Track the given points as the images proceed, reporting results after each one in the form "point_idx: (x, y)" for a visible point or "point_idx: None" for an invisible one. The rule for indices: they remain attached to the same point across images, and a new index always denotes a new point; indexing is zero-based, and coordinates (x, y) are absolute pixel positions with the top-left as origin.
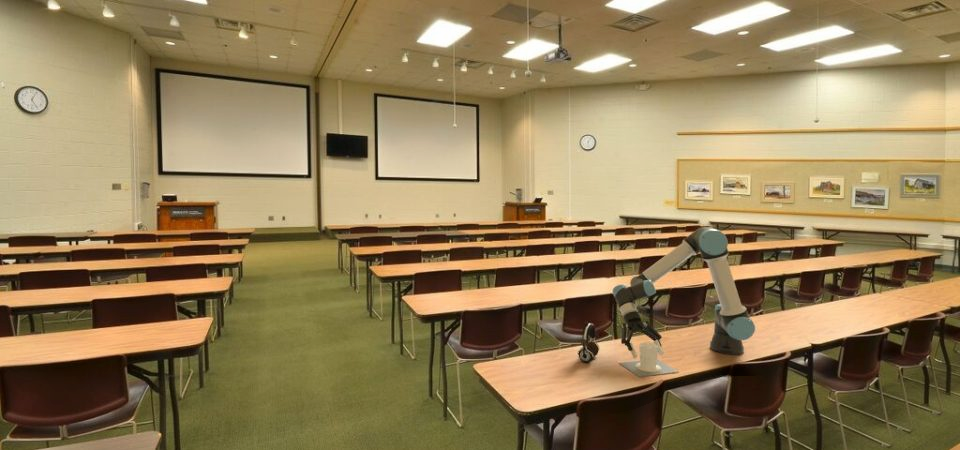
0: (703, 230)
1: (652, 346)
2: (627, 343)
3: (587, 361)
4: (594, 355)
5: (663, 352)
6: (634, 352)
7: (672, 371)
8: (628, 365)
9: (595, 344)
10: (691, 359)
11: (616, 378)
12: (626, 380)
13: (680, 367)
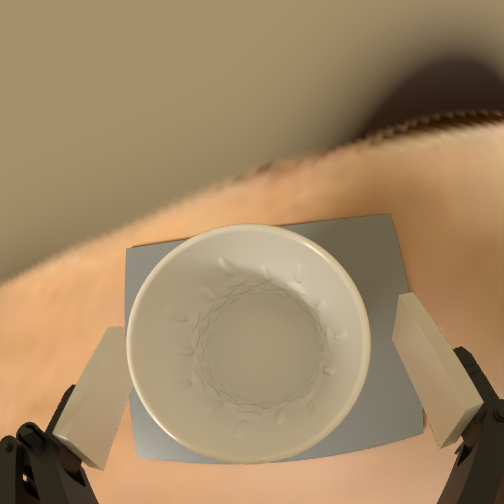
0: None
1: (165, 393)
2: (499, 400)
3: None
4: (495, 499)
5: (109, 327)
6: (427, 316)
7: (155, 255)
8: (388, 389)
9: None
10: (6, 382)
11: (489, 221)
12: (454, 193)
13: (81, 313)
